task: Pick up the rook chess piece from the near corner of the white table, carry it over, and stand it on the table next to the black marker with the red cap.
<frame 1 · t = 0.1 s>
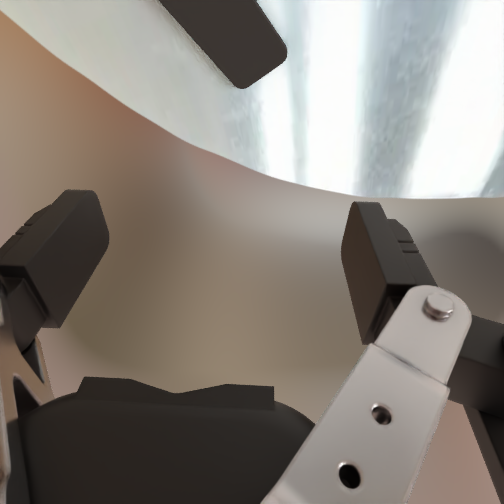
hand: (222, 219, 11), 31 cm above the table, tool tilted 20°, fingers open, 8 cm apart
phone: (221, 14, 34), on the table
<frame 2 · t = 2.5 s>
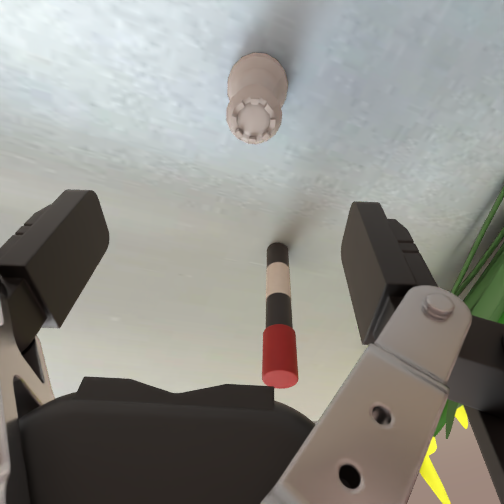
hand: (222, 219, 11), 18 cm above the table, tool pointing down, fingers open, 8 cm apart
daffodil flowers: (440, 284, 37), on the table
marker: (277, 250, 35), on the table
rook chess piece: (257, 84, 25), on the table
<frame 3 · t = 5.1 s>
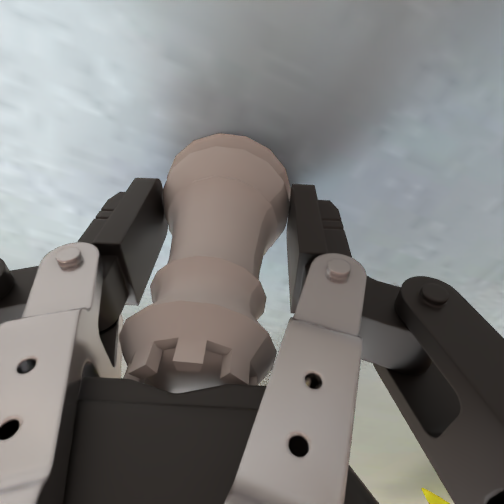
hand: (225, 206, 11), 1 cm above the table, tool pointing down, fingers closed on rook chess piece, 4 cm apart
rook chess piece: (230, 185, 13), on the table, touching gripper
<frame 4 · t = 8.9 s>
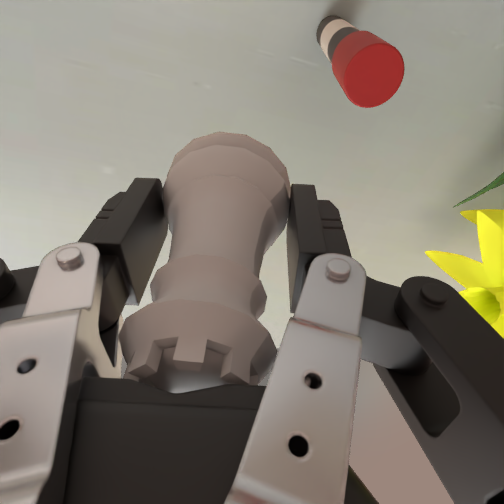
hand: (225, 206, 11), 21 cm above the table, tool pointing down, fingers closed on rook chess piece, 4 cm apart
marker: (330, 32, 26), on the table
rook chess piece: (230, 184, 12), point 20 cm above the table, touching gripper
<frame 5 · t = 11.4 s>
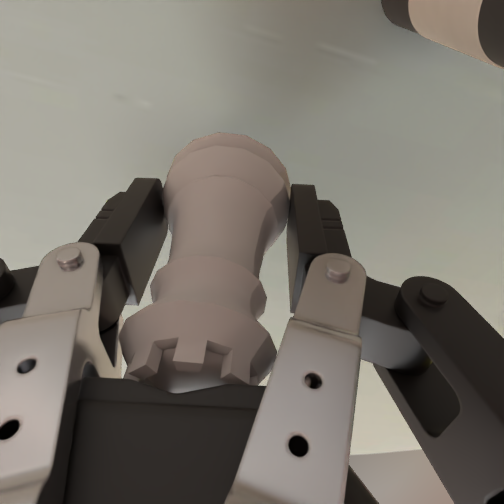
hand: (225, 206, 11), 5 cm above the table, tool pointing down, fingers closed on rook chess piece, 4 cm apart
rook chess piece: (230, 185, 12), point 3 cm above the table, touching gripper
when the fingers open (1 cm above the table, at t = 12.8 s): rook chess piece stays where it is, on the table.
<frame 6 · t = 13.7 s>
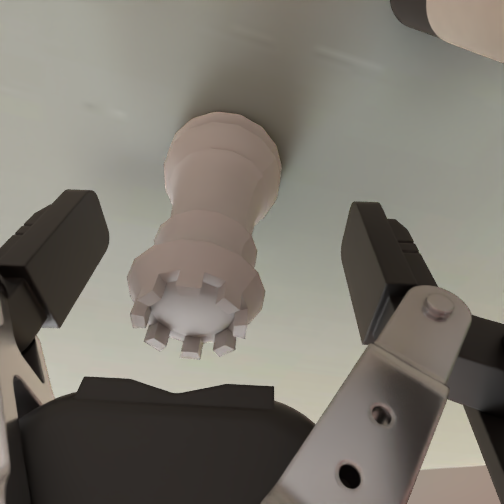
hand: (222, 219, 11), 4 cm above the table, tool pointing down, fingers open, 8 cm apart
rook chess piece: (226, 163, 14), on the table
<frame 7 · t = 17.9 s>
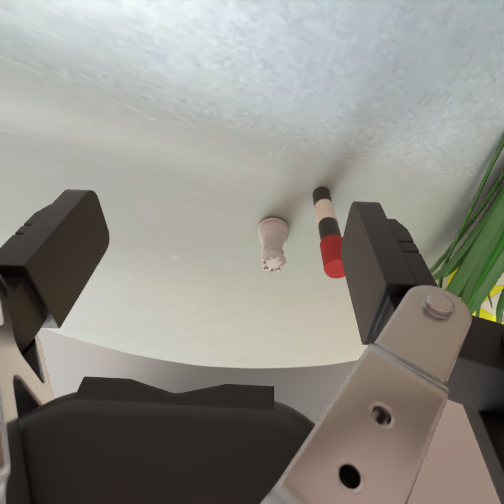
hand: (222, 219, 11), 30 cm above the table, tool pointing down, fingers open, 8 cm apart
daffodil flowers: (451, 228, 47), on the table
marker: (320, 194, 44), on the table
rook chess piece: (272, 227, 48), on the table
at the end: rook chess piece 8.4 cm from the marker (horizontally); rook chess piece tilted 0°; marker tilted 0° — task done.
